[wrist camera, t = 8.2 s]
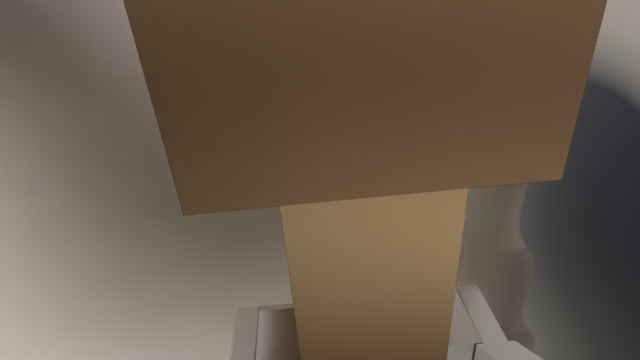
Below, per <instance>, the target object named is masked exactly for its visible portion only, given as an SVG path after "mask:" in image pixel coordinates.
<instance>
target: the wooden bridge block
mask: <svg viewBox="0 0 640 360" xmlns="http://www.w3.org/2000/svg"><path fill="white" fill-rule="evenodd" d="M606 3H607V0H124V4H125V8H126V11H127V15H128V18H129V22H130V25H131V29H132V33H133V36H134V40H135V43H136V47H137V50H138V54H139V58H140V61H141V65H142V68H143V72H144V75H145V79H146V83H147V86H148V90H149V93H150V97H151V101H152V104H153V108H154V111H155V115H156V118H157V122H158V126H159V129H160V133H161V136H162V140H163V143H164V147H165V151H166V154H167V158H168V161H169V165H170V168H171V172H172V176H173V179H174V183H175V186H176V190H177V193H178V197H179V201H180V204H181V208H182V211H183V215H193V214H204V213H214V212H225V211H235V210H246V209H256V208H267V207H277V206H280V211H281V219H282V226H283V233H284V240H285V248H286V255H287V262H288V269H289V276H290V284H291V291H292V298H293V305H294V312H295V320H296V327H297V334H298V341H299V349H300V356H301V360H447V353H448V345H449V338H450V330H451V322H452V314H453V306H454V299H455V291H456V283H457V275H458V268H459V260H460V252H461V244H462V236H463V229H464V221H465V213H466V205H467V197H468V190H469V188H478V187H488V186H499V185H509V184H520V183H530V182H540V181H551V180H561V179H562V176H563V172H564V168H565V164H566V160H567V156H568V152H569V148H570V144H571V140H572V136H573V132H574V128H575V124H576V121H577V116H578V113H579V109H580V104H581V101H582V96H583V93H584V89H585V85H586V81H587V77H588V73H589V69H590V65H591V61H592V58H593V54H594V50H595V46H596V42H597V38H598V34H599V30H600V26H601V22H602V18H603V14H604V11H605V7H606Z"/></svg>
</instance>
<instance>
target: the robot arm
mask: <svg viewBox="0 0 640 360" xmlns="http://www.w3.org/2000/svg"><path fill="white" fill-rule="evenodd" d="M230 360H301V356H300V349H299V341H298V334H297V327H296V320H295V312H294V305H293V304H284V305H271V306H260V307H250V308H238V311H237V313H236V317H235V325H234V332H233V339H232V347H231V354H230ZM447 360H543V359H542V358H540V357H539V356H537V355H536V354H534V353H533V352H532V351H530V350H529V349H527V348H526V347H524V346H523V345H521V344H520V343H518V342H517V341H515V340H514V341H508V339H507V338H506V336H505V334H504V332H503V330H502V329H501V327H500V325H499V323H498V321H497V320H496V318H495V316H494V314H493V313H492V311H491V309H490V307H489V305H488V304H487V302H486V300H485V298H484V296H483V295H482V293H481V291H480V289H479V288H478V287H477V286H476V285H467V286H458V287H456V291H455V299H454V306H453V314H452V322H451V330H450V338H449V345H448V353H447Z"/></svg>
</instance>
